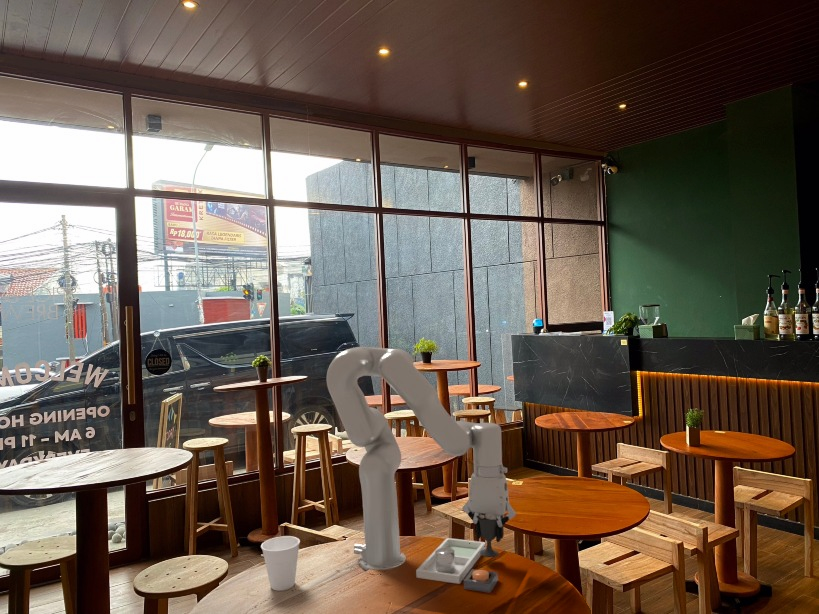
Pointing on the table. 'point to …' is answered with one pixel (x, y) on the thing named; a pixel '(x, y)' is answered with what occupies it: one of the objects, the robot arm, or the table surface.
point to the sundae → (488, 533)
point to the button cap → (480, 575)
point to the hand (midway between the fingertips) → (489, 537)
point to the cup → (281, 561)
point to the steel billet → (445, 560)
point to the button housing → (480, 582)
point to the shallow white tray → (463, 561)
